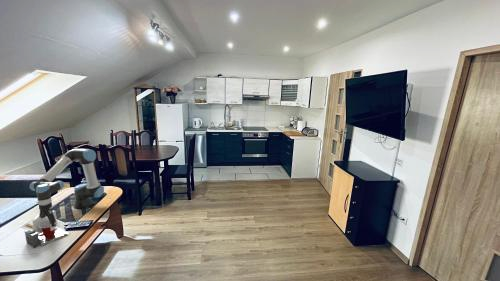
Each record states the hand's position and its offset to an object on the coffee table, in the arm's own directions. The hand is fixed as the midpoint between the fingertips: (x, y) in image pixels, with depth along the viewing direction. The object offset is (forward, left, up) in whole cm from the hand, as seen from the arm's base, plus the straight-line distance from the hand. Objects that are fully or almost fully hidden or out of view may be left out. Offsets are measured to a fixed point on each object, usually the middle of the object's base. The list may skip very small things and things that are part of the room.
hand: (48, 227), depth 170 cm
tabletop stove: (+2, 0, -9) cm, 9 cm away
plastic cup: (0, 0, -8) cm, 8 cm away
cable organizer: (-5, -21, -9) cm, 24 cm away
